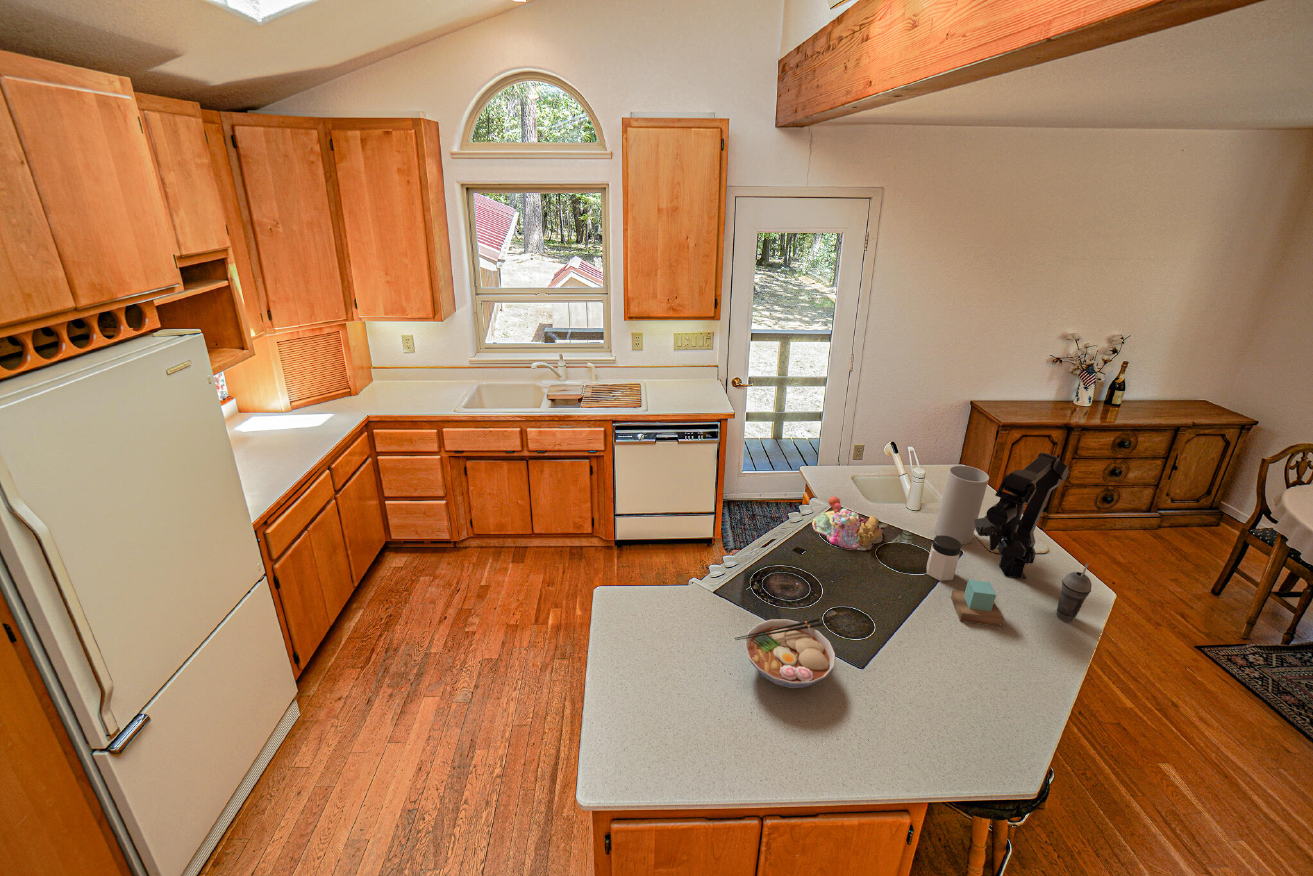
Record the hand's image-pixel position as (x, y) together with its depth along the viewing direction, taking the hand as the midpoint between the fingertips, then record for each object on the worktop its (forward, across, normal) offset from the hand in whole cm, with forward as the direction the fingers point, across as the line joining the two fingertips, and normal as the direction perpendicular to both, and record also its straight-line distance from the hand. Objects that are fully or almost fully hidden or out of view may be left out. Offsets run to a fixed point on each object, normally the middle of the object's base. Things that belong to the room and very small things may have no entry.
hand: (996, 558), depth 190 cm
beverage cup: (+13, +7, +20) cm, 25 cm away
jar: (+13, -8, -12) cm, 20 cm away
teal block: (+10, +10, -6) cm, 15 cm away
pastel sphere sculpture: (+14, -27, -40) cm, 50 cm away
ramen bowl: (+13, +46, -62) cm, 78 cm away
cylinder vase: (+13, -33, -2) cm, 36 cm away
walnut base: (+13, +10, -6) cm, 17 cm away
